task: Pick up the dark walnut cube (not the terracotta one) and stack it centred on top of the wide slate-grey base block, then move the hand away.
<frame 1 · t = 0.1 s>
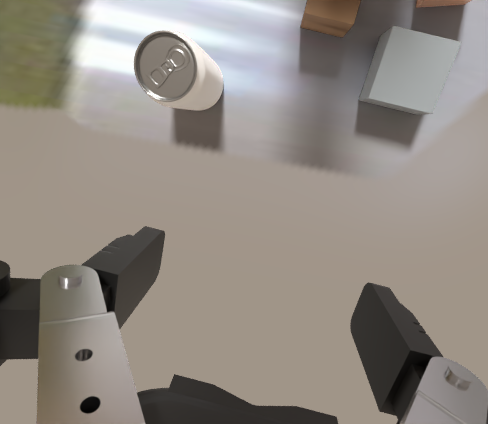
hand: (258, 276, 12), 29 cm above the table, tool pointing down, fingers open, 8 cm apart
walnut cube: (328, 8, 34), on the table
base block: (398, 76, 35), on the table
can: (198, 83, 37), on the table
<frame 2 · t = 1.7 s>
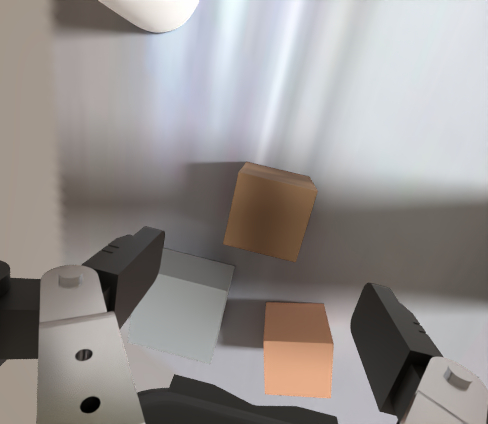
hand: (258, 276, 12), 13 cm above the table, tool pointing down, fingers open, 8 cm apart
walnut cube: (270, 199, 24), on the table
base block: (189, 290, 27), on the table
terracotta cube: (294, 326, 27), on the table
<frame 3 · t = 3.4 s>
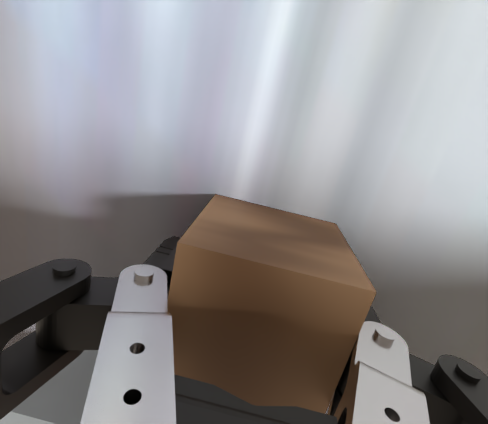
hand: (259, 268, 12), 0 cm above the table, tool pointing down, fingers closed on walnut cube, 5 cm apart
walnut cube: (260, 262, 13), on the table, touching gripper
base block: (125, 402, 16), on the table
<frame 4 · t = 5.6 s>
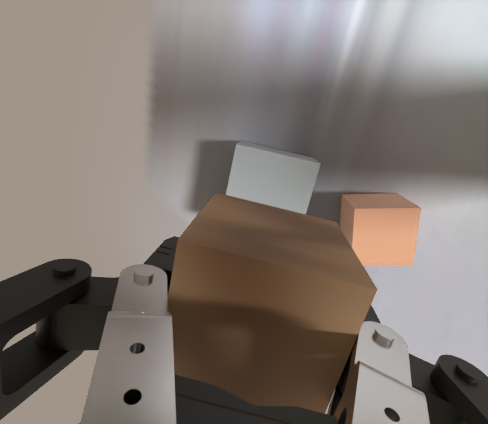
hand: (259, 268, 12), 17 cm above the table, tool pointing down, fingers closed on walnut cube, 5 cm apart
walnut cube: (260, 261, 13), point 17 cm above the table, touching gripper
base block: (268, 185, 29), on the table
terracotta cube: (366, 218, 29), on the table
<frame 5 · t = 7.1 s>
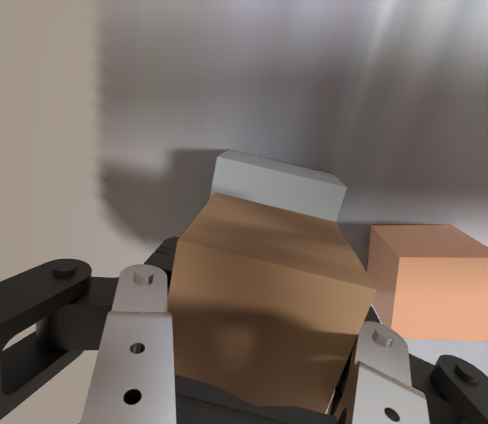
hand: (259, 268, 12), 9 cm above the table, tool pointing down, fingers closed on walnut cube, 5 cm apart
walnut cube: (260, 261, 13), point 8 cm above the table, touching gripper
base block: (267, 211, 21), on the table
terracotta cube: (405, 258, 21), on the table
when the fingers open (5 cm above the table, at t = 8.2 s): walnut cube stays where it is, resting on base block.
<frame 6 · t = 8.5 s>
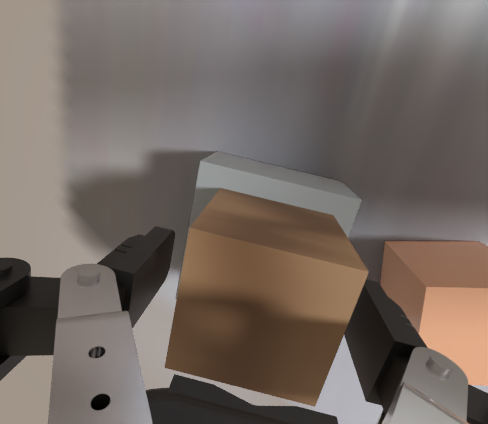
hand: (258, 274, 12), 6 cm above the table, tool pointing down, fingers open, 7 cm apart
walnut cube: (263, 252, 14), point 4 cm above the table, touching base block
base block: (263, 224, 17), on the table
terracotta cube: (424, 279, 18), on the table
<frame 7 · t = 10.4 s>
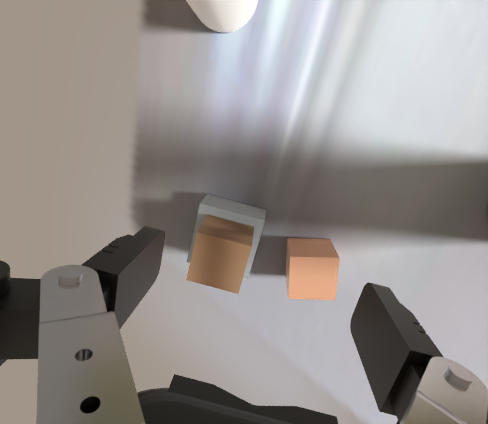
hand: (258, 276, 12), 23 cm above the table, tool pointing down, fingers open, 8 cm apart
walnut cube: (225, 241, 32), point 4 cm above the table, touching base block
base block: (229, 228, 36), on the table
terracotta cube: (307, 257, 36), on the table
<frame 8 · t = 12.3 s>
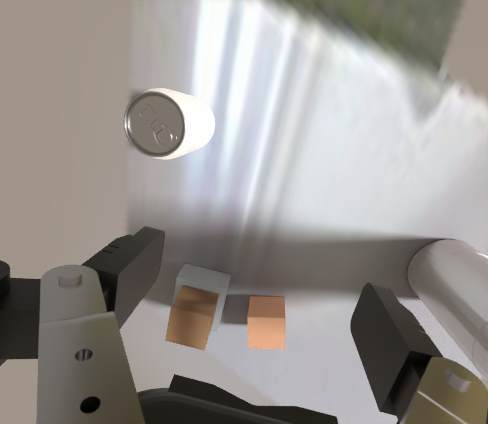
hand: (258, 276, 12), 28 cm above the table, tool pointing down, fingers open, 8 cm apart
walnut cube: (198, 304, 41), point 4 cm above the table, touching base block
base block: (203, 289, 45), on the table
terracotta cube: (267, 310, 45), on the table
can: (191, 123, 38), on the table
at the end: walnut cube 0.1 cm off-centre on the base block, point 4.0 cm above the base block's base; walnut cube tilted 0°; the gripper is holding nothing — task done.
